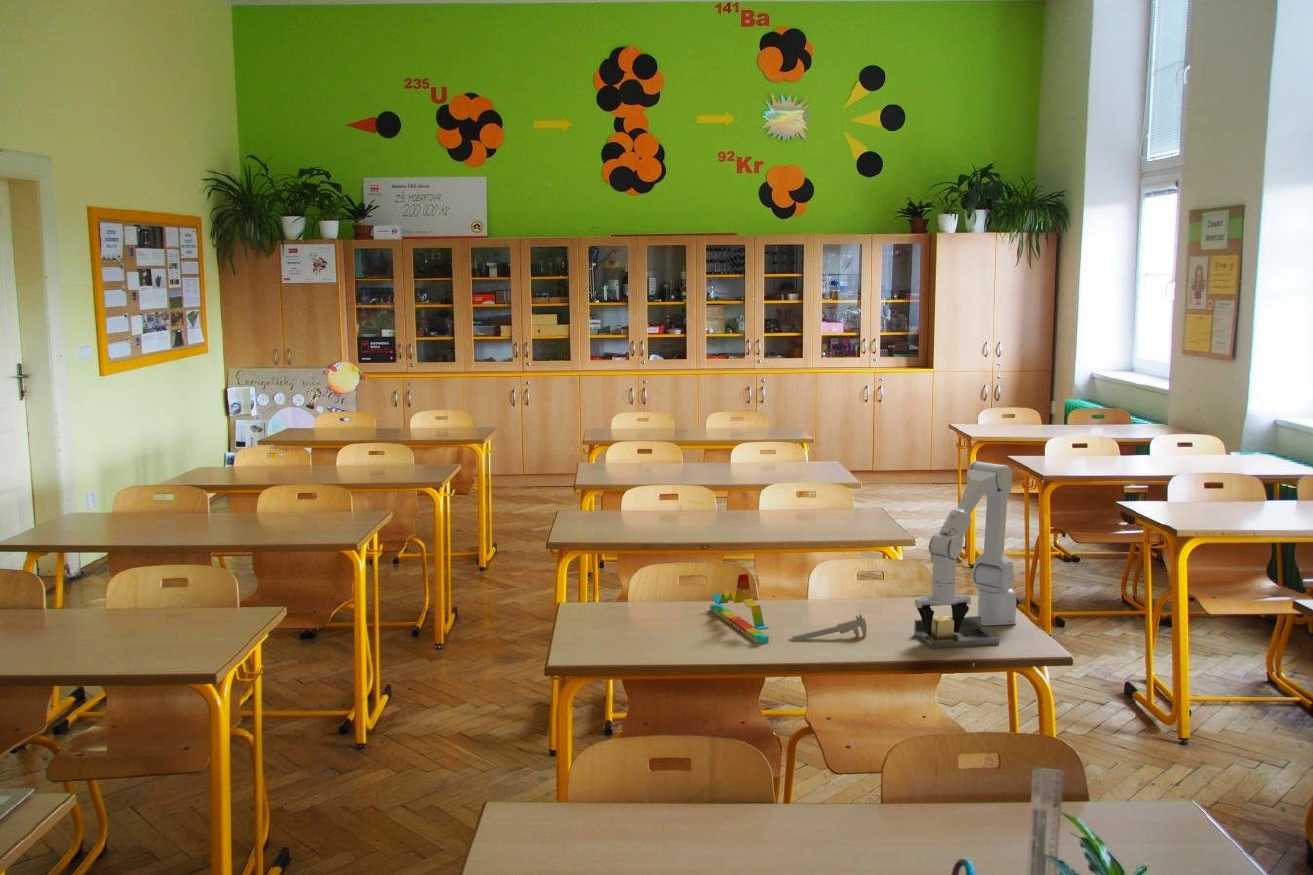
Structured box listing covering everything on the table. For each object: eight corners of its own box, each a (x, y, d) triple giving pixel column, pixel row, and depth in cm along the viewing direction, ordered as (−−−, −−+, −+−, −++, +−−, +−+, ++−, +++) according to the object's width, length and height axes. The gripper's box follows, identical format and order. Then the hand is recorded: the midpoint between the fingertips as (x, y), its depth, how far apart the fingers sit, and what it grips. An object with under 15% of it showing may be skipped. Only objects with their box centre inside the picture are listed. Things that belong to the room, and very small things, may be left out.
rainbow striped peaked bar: (709, 611, 305) (709, 558, 303) (719, 610, 306) (720, 557, 304) (757, 645, 277) (758, 587, 275) (768, 643, 278) (769, 586, 276)
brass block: (944, 637, 283) (945, 615, 282) (953, 643, 278) (954, 620, 277) (928, 638, 282) (929, 616, 281) (936, 644, 277) (937, 621, 276)
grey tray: (978, 630, 288) (979, 616, 287) (999, 644, 277) (999, 629, 277) (914, 634, 285) (914, 619, 284) (932, 648, 274) (932, 633, 273)
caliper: (867, 635, 284) (863, 613, 283) (868, 636, 283) (864, 614, 282) (791, 654, 281) (787, 632, 280) (792, 655, 280) (788, 633, 279)
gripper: (962, 575, 283) (959, 625, 285) (910, 578, 280) (908, 629, 282) (975, 582, 276) (973, 634, 278) (922, 585, 273) (920, 638, 275)
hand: (941, 632), depth 279 cm, fingers open, 7 cm apart
